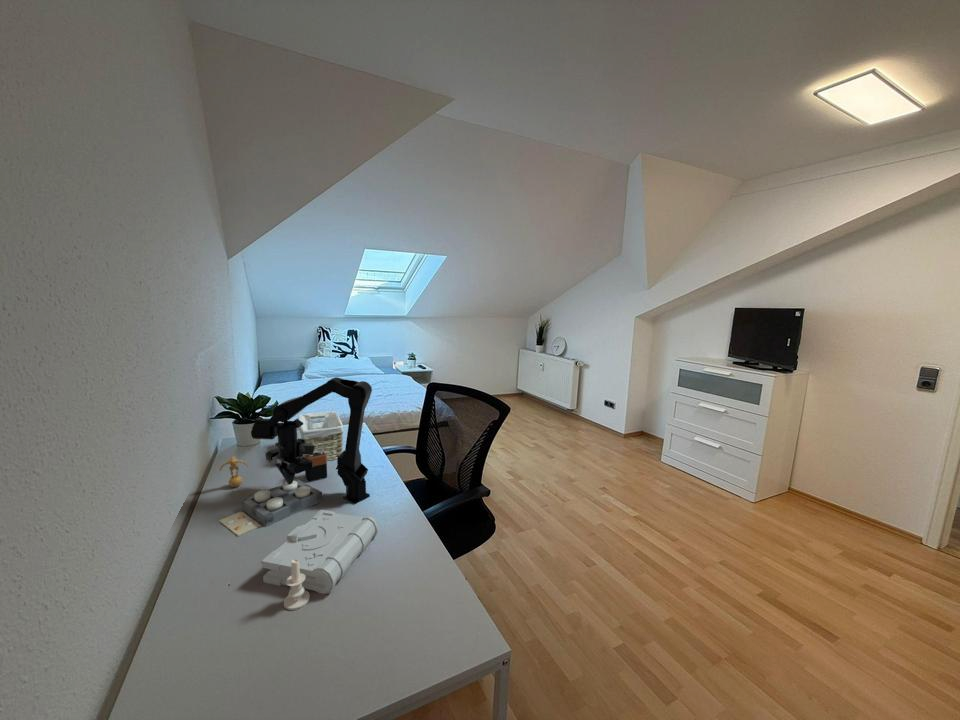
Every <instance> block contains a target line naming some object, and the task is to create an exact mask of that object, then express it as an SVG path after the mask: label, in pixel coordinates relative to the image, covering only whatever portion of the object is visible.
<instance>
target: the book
mask: <svg viewBox="0 0 960 720" xmlns="http://www.w3.org/2000/svg"><path fill="white" fill-rule="evenodd" d="M378 533H379V525H378V523H377V521H376V519H374V518H373V517H372V516H370V515H369V516H367V515H365V516H356V515H351V514H343V513H336V511H332V510H327V509H320V510H319V511H318V512H316V514H315V515H313V516H312V518H311V520H310V521H309V522H307V523H303V525H297V527H295V528H294V529H293V530H292V531H291V532H289V533H287V535H286V541H285V542H284V543H282V545H280V546H279V547H278V548H277V549H274V550H273V551H272V552H270V553H268V555H266V556H265V557H264V558H263V559H262V560H261V566H262V568H264V569H267V570H268V571H267V572H266V573H265V574H264V575H263V576H262V579H263V583H265V584H270V585H275V586H280V587H281V586H288V585H287V584H286V580H287V579H288V578H289V577H290V576H291V575H292V574H291V561H292V560H295V559H296V560H298V561H299V569H300V573H302V574H304V575H305V577H306V578H305V580H304V581H303V582H302V586H303V587H304V590H309V591H315V592H317V593H318V594H322V595H328V594H331V592H332V591H333V590H334V589H335V586H336V584H337V582H339V581H341V579H342V578H343V577H344V575H345V574H346V573H347V572H348V571H349V570H350V568H351V566H352V564H353V563H354V562H355V560H356V559H357V558H358V557H359V555H362V554H363V553H364V551H365V550H366V549H367V547H368V546H369V545H370V543H371V541H372V540H373V539H375V537H376V536H377V534H378ZM288 587H289V586H288Z"/></svg>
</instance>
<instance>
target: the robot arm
mask: <svg viewBox="0 0 960 720" xmlns="http://www.w3.org/2000/svg"><path fill="white" fill-rule="evenodd" d="M372 391H373V388H372V385H370V384H369V382H367V381H363V380H362V381H357V380H351V379H344V378H341V377H333V378H330V379H329V380H328V381H326V382H325V383H323V384H321V385H320V386H318V387H316V388H314V389H312V390H310V391H308V392H306V393H305V394H303V395H302V396H297V397H294V398H290V399H287V400H285V401H283V402H281V403H279V404H278V405H276V406H275V407H274V408H273V409H272V410H273V411H272V415H271V417H269V418H263V417H257V418H255V419H254V423H253V426H252V427H251V430H250V435H251V439H253V440H274V439H275V438H276V437H277V442H275V447H276V448H272V449H269V450H267V451H266V454H265V460H266V461H268V462H272V461H273V458H275V457H276V460H277V461H276V463H275V464H274V466H275V467H276V468H277V469H278V472H279V473H281V475H282V477H283V478H284V480H285V482H287V483H288V484H289V485H290V484H292V483H293V480H295V476H296V475H297V474H301V473H303V472H305V471H306V470H309V469H311V468H313V462H312V461H311V460H309V459H307V458H304V456H303V454H310V455H313V452H314V448H315V445H312V444H310V443H306V442H305V440H304V439H301V438H298V429H299V427H300V426H302V425H303V422H301V421H299V419H298V418H296V419H294V420H291V419H292V418H294V417H296V416H298V415H299V414H300V413H301V412H302V411H303V410H304V409H305V408H306V407H308V406H309V405H312V404H313V403H316V402H317V401H319V400H320V399H323V398H324V397H326V396H328V395H330V394H332V393H334V394H337V395H339V396H340V397H342V398H346V399H348V400H347V401H348V402H347V403H348V406H349V407H348V408H349V409H350V412H349V418H348V419H349V420H348V427H347V433H346V441H345V449H344V450H342V453H341V454H340V456H339V457H338V458H337V459H336V460H337V461H336V462H337V465H336V467H335V470H336V471H337V475H338V477H340V478H341V480H342V482H343V485H344V487H345V495H342V499H343V500H346V501H348V502H349V503H352V504H354V505H355V504H357V503H359V502H361V501H363V500H365V499H367V498H369V497H371V494H370V493H367V488H366V487H367V482H366V481H367V480H366V478H365V476H366V475H367V474H368V472H369V469H368V467H367V466H365V464H363V463H362V455H361V452H360V446H361V445H360V444H361V438H362V429H363V423H364V415H365V410H366V408H367V405H368V403H369V401H370V398H371V396H372V395H371V394H372Z"/></svg>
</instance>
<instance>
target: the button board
mask: <svg viewBox="0 0 960 720" xmlns="http://www.w3.org/2000/svg"><path fill="white" fill-rule="evenodd" d="M293 481H297V486H298V488H299V487H303V486H308V487H310V496H307V497H305V498H303V499H298V498H296V497H295V490H296V489H294V490H292V491H289V492H285V491H283V484H280V485H277V486H275V487H273V488H270V489H268V490H269V491H270V497H271V498H270V499H272V498H277V497H279V498H282V499H283V507H282V508H280V509H278V510H275V511H268V510H267V501H268V500H267V501H265V502H263V503H256V502H255V500H254V495H252V496H250V497H246V498H244V499H242V500H241V508H242V510H243V511H244V512H246V513H247V514H248V515H250V516H251V517H253V518H254V519H255V520H257V521H258V522H260V523H261V524H263V525H264V526H266V527H269V526H270V525H274V524H275V523H277V522H279V521H282V520H284V519H286V518H288V517H290V516H292V515H294V514H296V513H299V512H300V511H303V510H306V509H307V508H310V507H312V506H314V505H316V504H319V503H321V502H322V501H323V499H324V498H323V492H322V491H320V490H319V489H317V488H315V487H313V486H311V485H309V484H307V483H305V482H304V481H302V480H299V479H298V478H297V479H294V480H293Z"/></svg>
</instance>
